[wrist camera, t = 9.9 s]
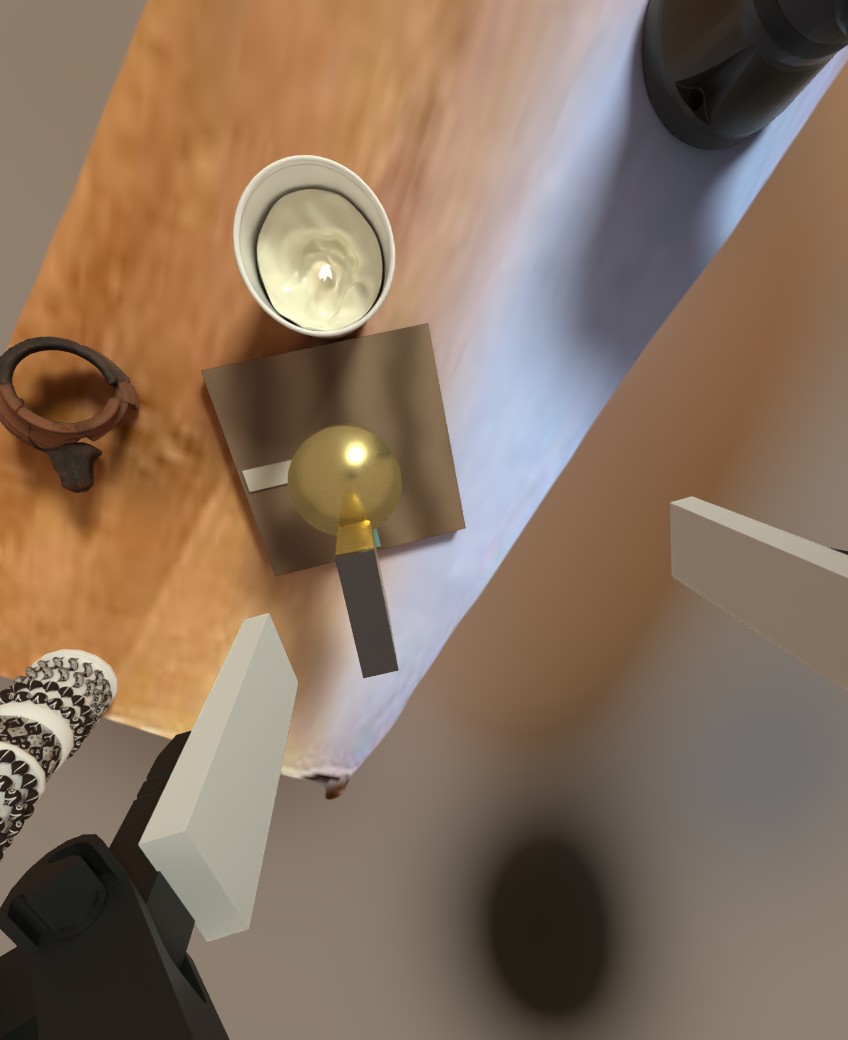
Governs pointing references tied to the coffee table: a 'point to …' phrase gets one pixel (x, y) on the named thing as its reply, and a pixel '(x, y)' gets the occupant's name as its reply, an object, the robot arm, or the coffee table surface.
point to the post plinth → (333, 400)
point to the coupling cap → (352, 524)
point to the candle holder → (314, 246)
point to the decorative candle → (46, 727)
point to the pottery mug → (62, 437)
